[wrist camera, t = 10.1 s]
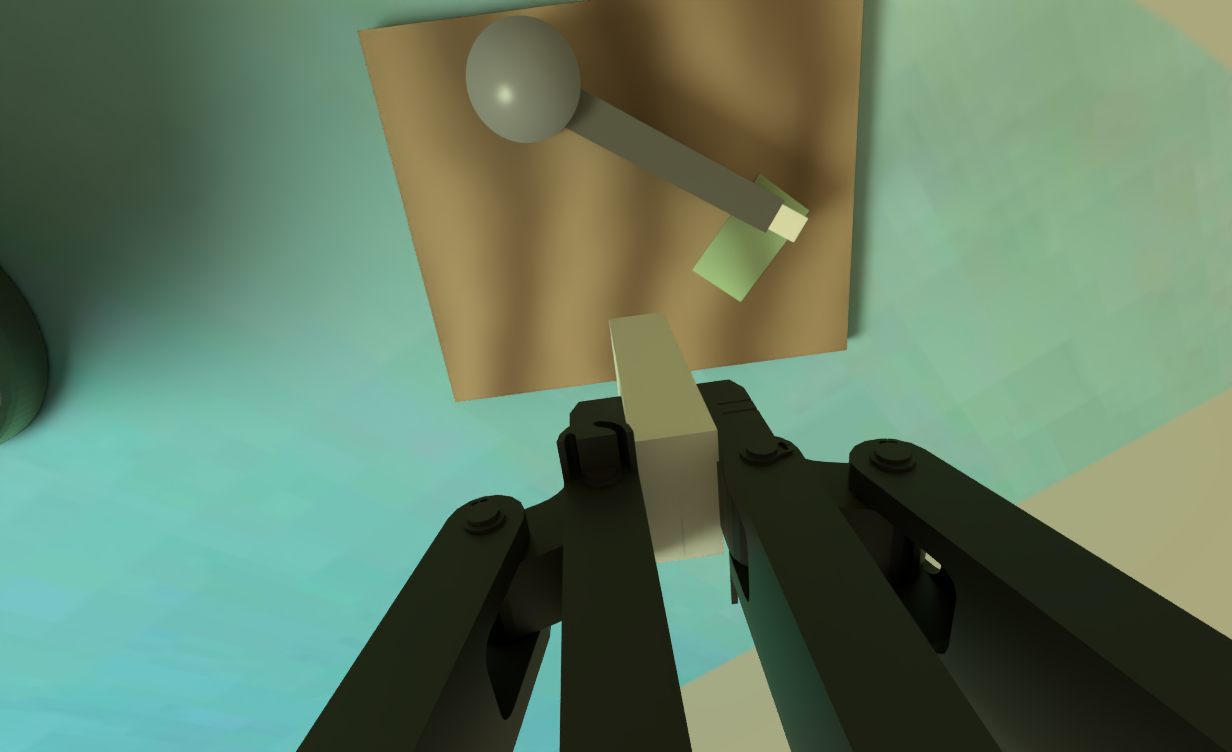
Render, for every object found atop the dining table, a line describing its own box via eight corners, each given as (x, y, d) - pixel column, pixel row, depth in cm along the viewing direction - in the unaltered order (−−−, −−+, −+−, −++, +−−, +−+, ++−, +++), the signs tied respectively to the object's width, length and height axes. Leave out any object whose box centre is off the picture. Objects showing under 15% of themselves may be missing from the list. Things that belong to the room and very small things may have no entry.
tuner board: (459, 392, 33) (454, 402, 32) (366, 34, 26) (356, 30, 25) (837, 342, 33) (847, 350, 32) (853, -30, 26) (866, -37, 25)
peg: (467, 111, 26) (449, 110, 23) (504, 9, 25) (490, -9, 21) (756, 259, 30) (780, 278, 26) (803, 178, 28) (836, 187, 25)
